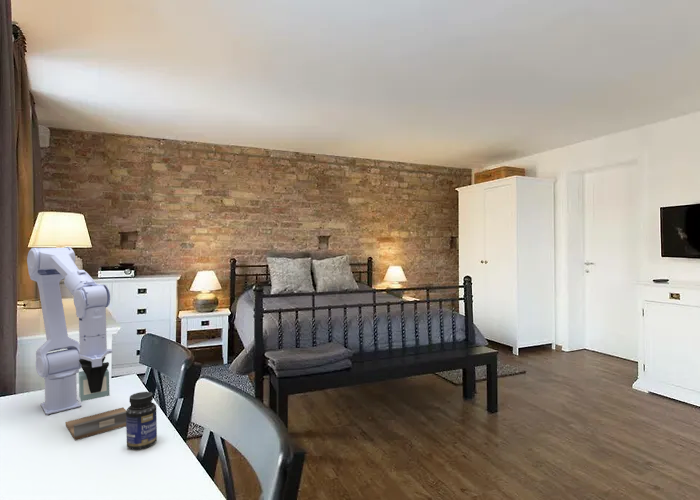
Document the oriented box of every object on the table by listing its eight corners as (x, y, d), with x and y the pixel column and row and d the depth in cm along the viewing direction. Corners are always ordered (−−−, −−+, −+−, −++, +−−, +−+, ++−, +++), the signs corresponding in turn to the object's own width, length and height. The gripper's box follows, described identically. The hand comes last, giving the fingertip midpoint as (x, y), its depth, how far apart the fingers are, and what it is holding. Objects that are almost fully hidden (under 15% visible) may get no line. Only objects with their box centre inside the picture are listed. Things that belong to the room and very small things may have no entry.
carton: (79, 395, 104) (78, 371, 104) (107, 390, 108) (106, 367, 108) (80, 401, 101) (80, 376, 101) (109, 395, 104) (109, 371, 104)
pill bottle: (144, 451, 91) (143, 401, 91) (120, 449, 92) (119, 399, 92) (162, 438, 97) (161, 391, 97) (139, 436, 98) (138, 389, 98)
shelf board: (65, 425, 104) (65, 412, 104) (123, 410, 113) (122, 398, 113) (75, 440, 96) (74, 426, 96) (136, 423, 105) (136, 410, 105)
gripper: (116, 337, 101) (117, 393, 101) (107, 327, 112) (108, 378, 113) (81, 342, 96) (82, 400, 97) (75, 331, 108) (77, 383, 108)
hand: (94, 389), depth 104 cm, fingers closed on carton, 5 cm apart
